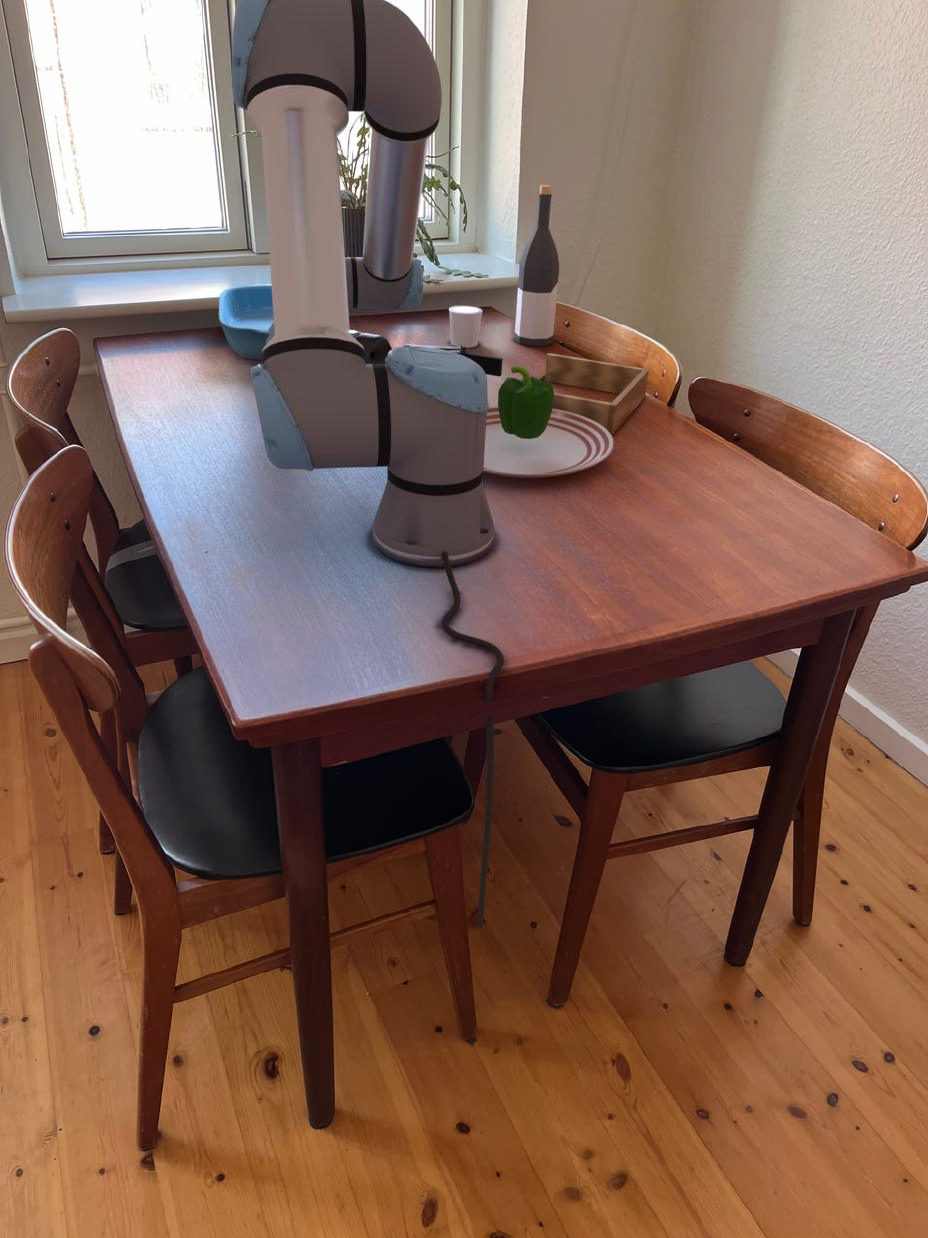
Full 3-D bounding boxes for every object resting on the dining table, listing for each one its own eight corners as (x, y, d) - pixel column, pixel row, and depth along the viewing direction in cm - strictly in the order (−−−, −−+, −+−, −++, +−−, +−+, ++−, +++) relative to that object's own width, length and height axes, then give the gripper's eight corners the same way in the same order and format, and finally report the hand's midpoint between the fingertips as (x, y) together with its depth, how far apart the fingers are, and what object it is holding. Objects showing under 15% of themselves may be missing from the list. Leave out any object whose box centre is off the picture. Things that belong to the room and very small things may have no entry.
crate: (497, 413, 158) (499, 384, 155) (541, 378, 175) (543, 352, 173) (611, 435, 152) (615, 405, 149) (645, 396, 169) (649, 369, 166)
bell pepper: (562, 434, 142) (569, 369, 136) (528, 448, 136) (533, 380, 131) (520, 419, 146) (524, 356, 141) (485, 432, 141) (489, 366, 136)
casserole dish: (343, 365, 177) (342, 327, 173) (222, 369, 172) (218, 329, 168) (325, 315, 207) (323, 282, 203) (221, 317, 202) (218, 282, 199)
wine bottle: (516, 334, 200) (526, 181, 184) (553, 337, 200) (567, 184, 184) (512, 344, 194) (523, 186, 178) (551, 347, 193) (565, 189, 177)
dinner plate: (519, 509, 126) (520, 486, 125) (395, 447, 144) (395, 426, 142) (648, 462, 142) (651, 442, 140) (523, 411, 159) (524, 392, 158)
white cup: (487, 343, 194) (488, 308, 190) (469, 350, 189) (471, 315, 185) (459, 337, 197) (460, 303, 193) (441, 344, 192) (442, 309, 188)
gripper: (396, 360, 158) (512, 381, 151) (318, 403, 139) (448, 429, 132) (396, 315, 154) (516, 334, 147) (316, 352, 135) (450, 376, 128)
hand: (484, 379), depth 139 cm, fingers open, 13 cm apart
